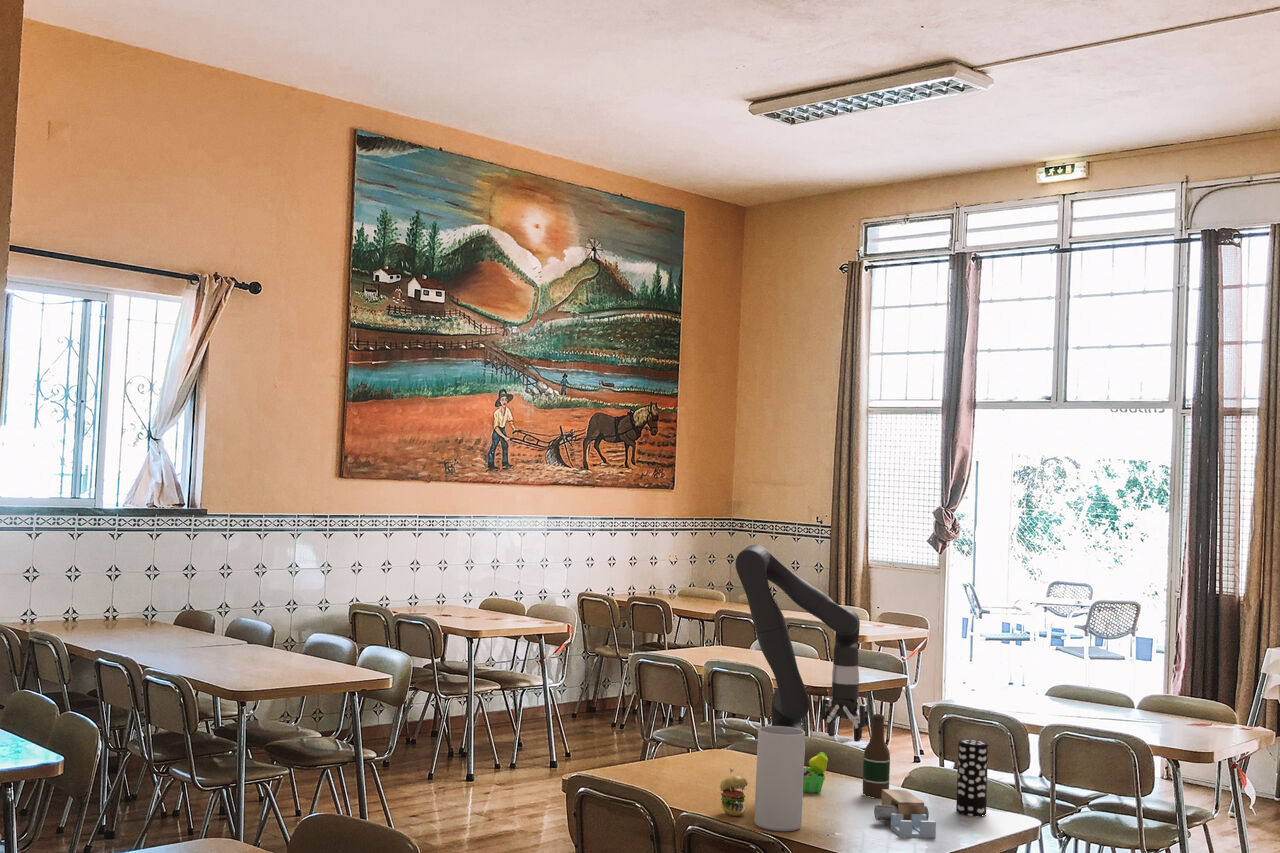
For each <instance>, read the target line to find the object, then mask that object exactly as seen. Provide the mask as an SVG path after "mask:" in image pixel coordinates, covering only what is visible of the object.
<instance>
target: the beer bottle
mask: <svg viewBox="0 0 1280 853" xmlns="http://www.w3.org/2000/svg"><path fill="white" fill-rule="evenodd" d="M871 719H872V726H871V734H870V740H869V742H868V744H866V746H865V749H864V751H863V752H864V753H863V766H862V767H863V769H862V770H863V771H862V794H865V795H866V796H865V795H864V796H865V797H867V796H870V797H869V798H871V797H874V798H873V799H882V789H890V773H891V772H890V770H891V768H890V766H891V753H890V749H889V747H888V745H887V744H886V741H885V727H884V726H885V722H884V720H885V719H886V718H885V715H883V714H881V713H880V714H879V713H875V714H872V716H871Z"/></svg>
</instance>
